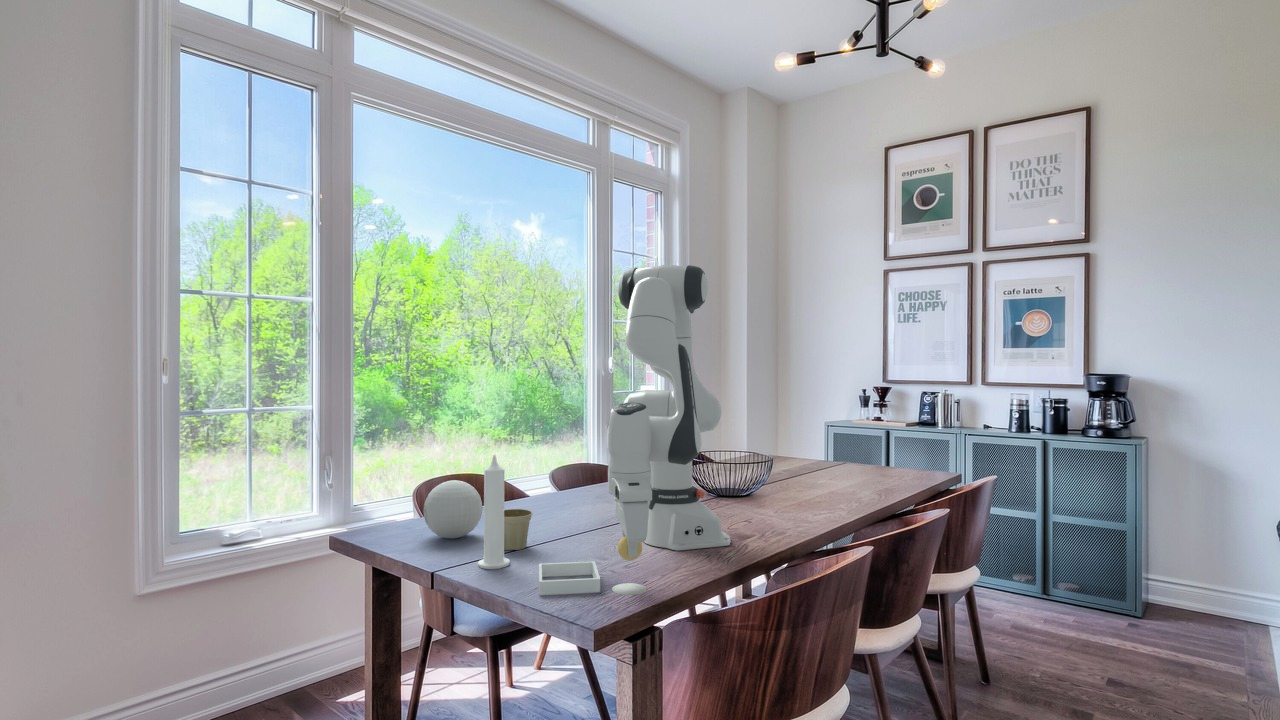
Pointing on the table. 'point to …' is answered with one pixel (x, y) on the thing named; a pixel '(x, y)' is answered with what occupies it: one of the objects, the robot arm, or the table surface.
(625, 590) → the coaster
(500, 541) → the candle
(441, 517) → the decorative object
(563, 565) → the shallow white box
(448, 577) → the table surface
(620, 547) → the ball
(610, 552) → the table surface
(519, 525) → the flower pot
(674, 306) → the robot arm
